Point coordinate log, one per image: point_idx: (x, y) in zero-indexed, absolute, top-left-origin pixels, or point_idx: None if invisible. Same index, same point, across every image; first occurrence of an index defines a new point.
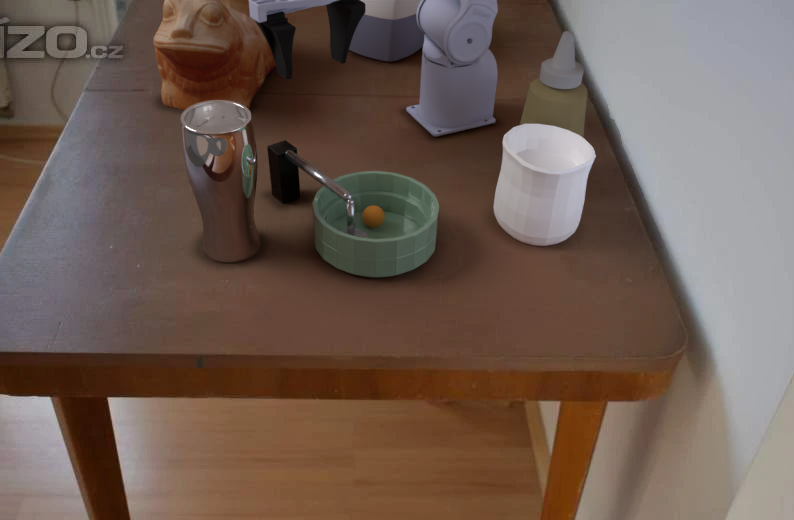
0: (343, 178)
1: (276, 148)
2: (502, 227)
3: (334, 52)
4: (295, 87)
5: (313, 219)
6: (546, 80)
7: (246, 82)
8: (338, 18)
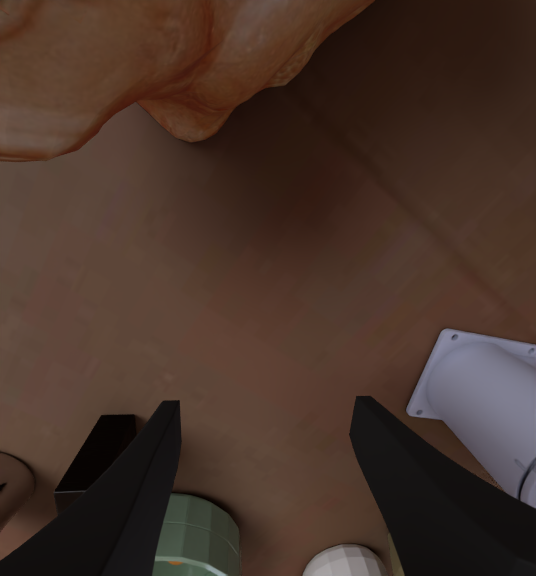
0: None
1: (65, 508)
2: (303, 573)
3: (362, 425)
4: (364, 107)
5: None
6: None
7: (212, 114)
8: (433, 567)
